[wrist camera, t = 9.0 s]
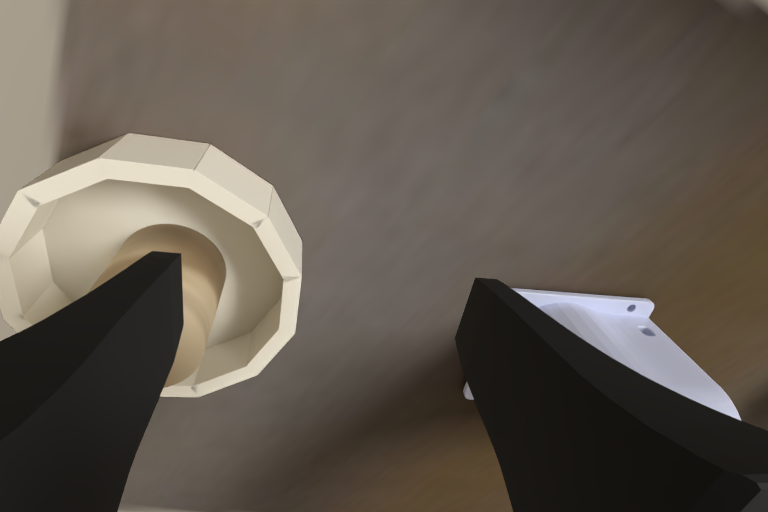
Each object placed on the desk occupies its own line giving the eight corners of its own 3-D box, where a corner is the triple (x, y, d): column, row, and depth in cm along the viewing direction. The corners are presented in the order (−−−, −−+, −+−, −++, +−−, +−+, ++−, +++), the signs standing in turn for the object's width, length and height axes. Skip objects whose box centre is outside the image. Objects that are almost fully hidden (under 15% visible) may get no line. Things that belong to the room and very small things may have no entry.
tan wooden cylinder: (224, 226, 19) (200, 293, 15) (228, 309, 21) (207, 389, 17) (111, 220, 18) (51, 289, 14) (126, 308, 20) (78, 391, 16)
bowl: (311, 157, 19) (312, 183, 16) (289, 355, 24) (287, 398, 22) (8, 116, 16) (-47, 140, 14) (57, 346, 22) (23, 394, 19)
